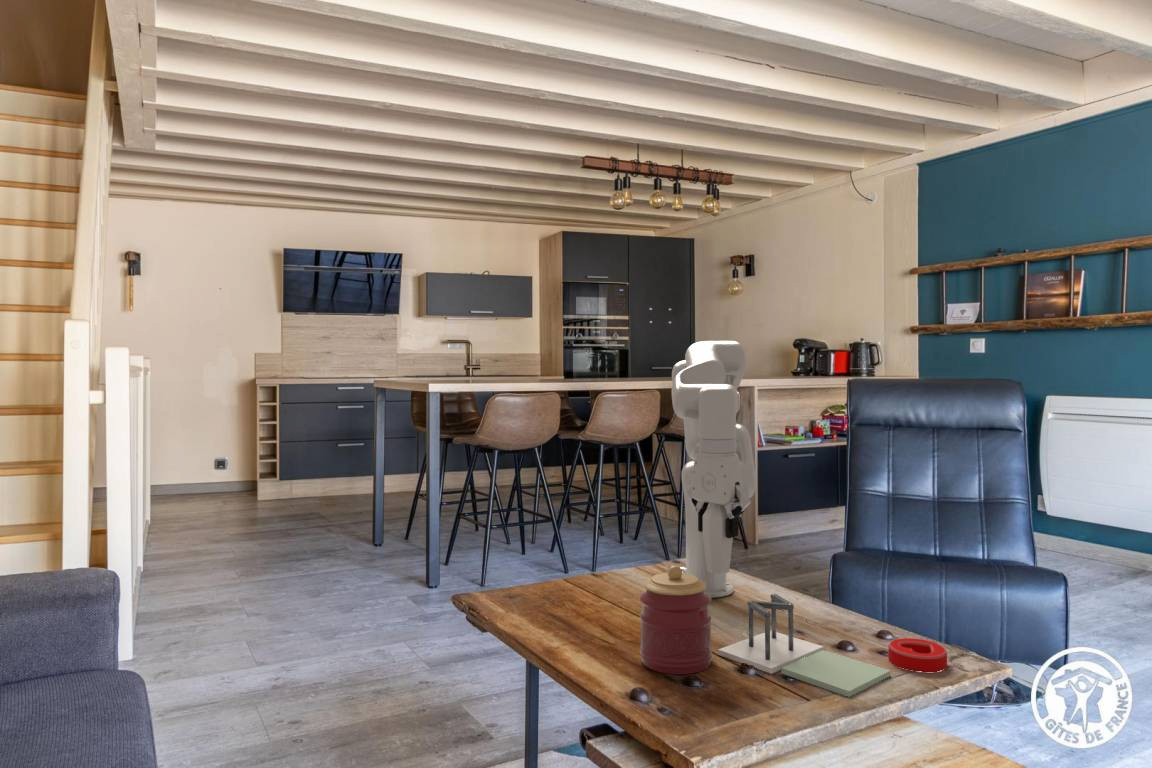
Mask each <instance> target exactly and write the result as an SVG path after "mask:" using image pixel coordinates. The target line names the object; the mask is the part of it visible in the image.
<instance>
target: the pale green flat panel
mask: <svg viewBox="0 0 1152 768" xmlns="http://www.w3.org/2000/svg"><path fill="white" fill-rule="evenodd" d="M780 671H781V674H782V675H785V676H788V677H790V678H794V679H796V680H799V681H802V682H805V683H808V684H810V685H813V686H817V687H819V688H821V689H825V690H827V691H830V692H833V693H836V694H839V695H841V694H842V696H844V697H847V696H848V697H847V698H851V697H852V695H853V696H854V694H855V695H856V693H857V694H859V693H860V691H861V692H862V690H863V691H864V690H866V689H868V688H870V687H872V686H874V685H876V684H879V683H880V682H882V681H884V680H886V679H888V678H890V677H891V670H890V669H886V668H883V667H881V666H877V665H874V664H871V663H867V662H864V661H861V660H858V659H855V658H851V657H848V656H845V655H842V654H838V653H834V652H832V651H829V650H822V651H820V652H818V653H815V654H813V655H810V656H808V657H806V658H803V659H801V660H799V661H796V662H794V663H791V664H789V665H787V666H784V667H782V668H781V670H780ZM889 676H890V677H889ZM887 677H888V678H887ZM885 678H886V679H885ZM883 679H884V680H883ZM881 680H882V681H881ZM879 681H880V682H879ZM875 683H876V684H875ZM873 684H874V685H873ZM871 685H872V686H871ZM869 686H870V687H869ZM867 687H868V688H867ZM858 692H859V693H858ZM850 696H851V697H850Z"/></svg>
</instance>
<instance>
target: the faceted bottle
mask: <svg viewBox="0 0 1152 768" xmlns="http://www.w3.org/2000/svg"><path fill="white" fill-rule="evenodd" d="M726 518H729V517H728V515H727V512H726V509H725V506H724V505H718V504H712V503H711V504H710V505H709V507H708V508H707V510H706V511H705V513H704V514H703V543H704V550H705V558H706V566H707V571H709V572H711V573H719V574H722V573H726V574H728V573H730V566H731V557H732V549H733V540H734V539H733V538H734V537H732V538H727V537H726Z"/></svg>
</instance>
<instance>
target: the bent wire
mask: <svg viewBox="0 0 1152 768" xmlns="http://www.w3.org/2000/svg"><path fill="white" fill-rule="evenodd" d="M747 606H748V638H749V647H754V636H755V634H754V633H755V632H754V620H755V619H754V612H755V613H757V614H758V615H760V616H761V617H762V618H764V633H765V659H766V660H770V630H771V633H772V638H776V632H777V610H781V611H787V620H788V621H787V622H788V623H787V627H788V628H787V629H788V630H787V631H788V634H787V635H788V650H790V651H793V637H794V609H795V605H794V604H793V603H792V602H790V601H788V600H787V599H786V598H783V597H782V596H780V595H779V594H777V593H771V594H770V601H763V600H762V601H761V600H749V601H748V602H747ZM767 609H768V610H767Z"/></svg>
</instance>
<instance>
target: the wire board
mask: <svg viewBox="0 0 1152 768" xmlns="http://www.w3.org/2000/svg"><path fill="white" fill-rule="evenodd" d="M824 648H825V647H824V646H823V645H820V644H817V643H813V642H810V641H807V640H803V639H800V638H797V637H794V636H793V651H790V650H788V634H787V635H786V634H785V633H784V634H783V633H781V632H778V631H776V638H772V633H771V629H770V660H766V659H765V632H762V633H759V634H757V635H754V647H749V637H748V638H746V639H743V640H740V641H737V642H734V643H732V644H729V645H727V646H724V647H721V648H718V649H717V654H718V656H720V657H723V658H726V659H729V660H731V661H734V662H737V663H740V664H742V663H750V664H751V665H753V666H754V667H755V668H754V667H753V668H754V669H756V668H757V669H756V670H760V671H762V672H764V673H768V674H770V675H773V674H774V673H777V672H779V671H781V668H782V667H784V666H787V665H789V664H791V663H794V662H796V661H799V660H800V659H802V658H804V657H808V656H810V655H813V654H815V653H818V652H820V651H822V650H824Z"/></svg>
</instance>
